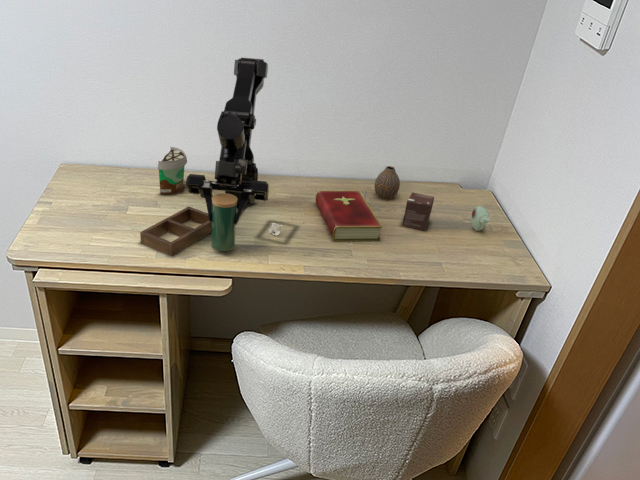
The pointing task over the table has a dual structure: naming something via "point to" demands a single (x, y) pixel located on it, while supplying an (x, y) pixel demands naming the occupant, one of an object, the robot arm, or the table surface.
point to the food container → (172, 172)
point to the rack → (177, 231)
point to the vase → (387, 183)
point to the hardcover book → (348, 216)
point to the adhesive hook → (274, 229)
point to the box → (418, 211)
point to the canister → (223, 221)
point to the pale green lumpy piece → (480, 217)
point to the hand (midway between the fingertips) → (222, 222)
